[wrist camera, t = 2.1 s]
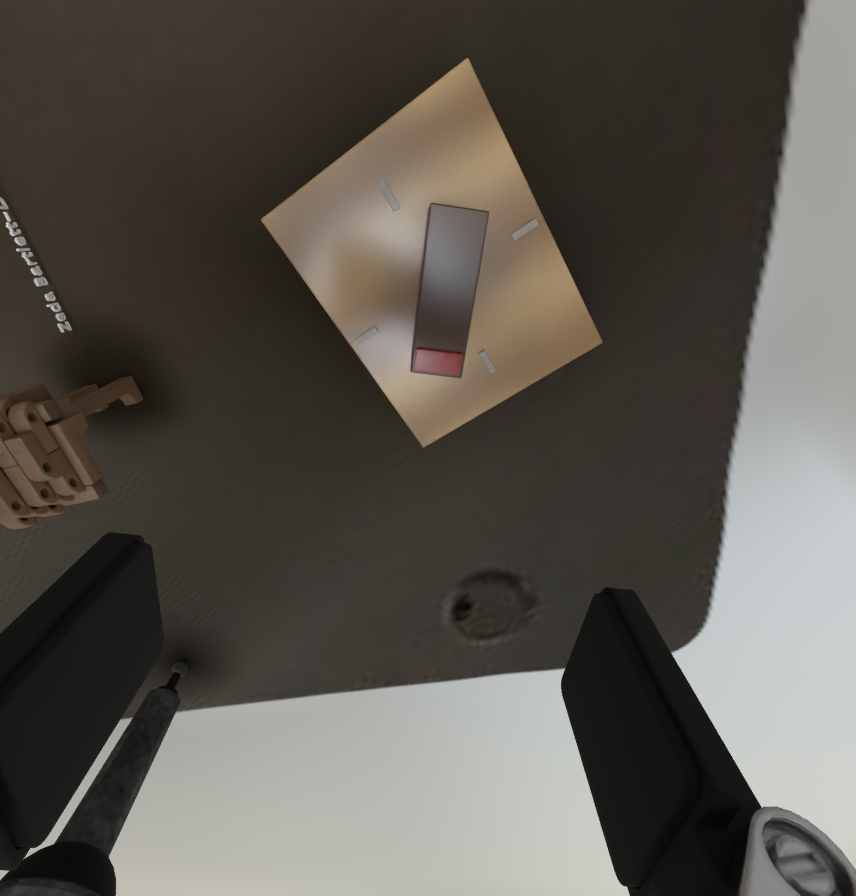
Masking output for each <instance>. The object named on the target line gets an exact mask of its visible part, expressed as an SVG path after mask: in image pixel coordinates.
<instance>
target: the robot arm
mask: <svg viewBox="0 0 856 896" xmlns="http://www.w3.org/2000/svg"><path fill="white" fill-rule="evenodd" d="M163 642H164V636H163V629H162V621H161V613H160V606H159V598H158V590H157V583H156V575H155V567H154V559H153V552H152V547H151V545H150V544H146V543H145V542H144V539H143V538H142V536H139V535H131V534H122V533H113V532H110V533H107V534H106V535H104V536H103V537H102V538H101V539H100V540H99V541H98V542H97V543H95V544H94V545H93V546H92V547H91V548H90V549H89V550H88V551H87V552H86V553H85V554H84V555H83V556H82V557H81V558H80V559H79V560H78V561H77V562H76V563H75V564H74V565H72V566H71V567H70V568H69V569H68V570H67V571H66V572H65V573H64V574H63V575H62V576H61V577H60V578H59V579H58V580H57V581H56V582H55V583H54V584H53V585H52V586H51V587H49V588H48V589H47V590H46V591H45V592H44V593H43V594H42V595H41V596H40V597H39V598H38V599H37V600H36V601H35V602H34V603H33V604H31V605H30V606H29V607H28V608H27V609H26V610H25V611H24V612H23V613H22V614H21V615H20V616H19V617H18V618H17V619H16V620H14V621H13V622H12V623H11V624H10V625H9V626H8V627H7V628H6V629H5V630H4V631H3V632H2V633H1V634H0V870H9V871H16V870H17V868H18V867H19V865H20V864H21V862H22V860H23V859H24V857H25V856H26V854H27V853H28V851H29V849H30V848H35V847H38V846H39V845H41V844H42V842H43V841H44V840H45V839H46V838H47V836H48V835H49V833H50V832H51V830H52V829H53V827H54V825H55V824H56V822H57V821H58V819H59V817H60V816H61V814H62V813H63V811H64V809H65V808H66V806H67V804H68V803H69V801H70V800H71V798H72V796H73V795H74V793H75V791H76V790H77V788H78V787H79V785H80V783H81V782H82V780H83V779H84V777H85V775H86V774H87V772H88V771H89V769H90V767H91V766H92V764H93V763H94V761H95V759H96V758H97V756H98V754H99V753H100V751H101V750H102V748H103V746H104V745H105V743H106V742H107V740H108V738H109V737H110V735H111V733H112V731H113V730H114V729H115V727H116V725H117V724H118V722H119V721H120V719H121V717H122V716H123V714H124V712H125V711H126V709H127V708H128V706H129V704H130V703H131V701H132V700H133V698H134V696H135V695H136V693H137V692H138V690H139V688H140V687H141V685H142V683H143V682H144V680H145V679H146V677H147V675H148V674H149V672H150V671H151V669H152V667H153V666H154V664H155V662H156V661H157V659H158V657H159V656H160V653H161V651H162V647H163ZM561 689H562V696H563V699H564V703H565V706H566V709H567V713H568V716H569V719H570V723H571V726H572V729H573V733H574V736H575V739H576V743H577V746H578V750H579V753H580V756H581V760H582V763H583V767H584V770H585V773H586V777H587V780H588V783H589V786H590V790H591V793H592V796H593V800H594V803H595V807H596V810H597V814H598V817H599V820H600V824H601V827H602V830H603V834H604V837H605V840H606V844H607V847H608V850H609V854H610V857H611V861H612V864H613V867H614V871H615V873H616V876H617V878H618V880H619V882H620V883H621V884H622V885H623V886H627V887H628V890H629V894H630V896H856V870H855V868H854V867H853V866H852V864H851V863H850V862H849V860H848V859H847V857H846V856H845V855H844V854H843V852H842V851H841V850H840V849H839V848H838V847H837V846H836V845H835V844H834V843H833V841H831V839H829V837H828V836H827V835H826V834H825V833H823V832H822V831H821V830H819V829H818V828H817V827H816V826H814V825H813V824H812V823H810V822H809V821H808V820H806V819H804V818H802V817H801V816H799V815H797V814H795V813H793V812H792V811H789V810H785V809H782V808H779V807H763V808H761V806H760V804H759V802H758V801H757V799H756V797H755V796H754V794H753V792H752V790H751V789H750V787H749V785H748V784H747V782H746V780H745V778H744V777H743V775H742V773H741V772H740V770H739V768H738V766H737V765H736V763H735V761H734V760H733V758H732V756H731V754H730V753H729V751H728V749H727V748H726V746H725V744H724V742H723V741H722V739H721V737H720V736H719V734H718V732H717V730H716V729H715V727H714V725H713V724H712V722H711V720H710V719H709V717H708V715H707V713H706V712H705V710H704V708H703V707H702V705H701V703H700V702H699V700H698V698H697V696H696V695H695V693H694V691H693V690H692V688H691V686H690V684H689V683H688V681H687V679H686V677H685V676H684V674H683V672H682V671H681V669H680V668H679V666H678V664H677V663H676V661H675V659H674V657H673V656H672V654H671V652H670V650H669V649H668V647H667V645H666V644H665V642H664V640H663V638H662V637H661V635H660V633H659V632H658V630H657V628H656V626H655V625H654V623H653V621H652V620H651V618H650V616H649V614H648V613H647V611H646V609H645V608H644V606H643V604H642V603H641V601H640V599H639V597H638V596H637V594H636V593H635V592H634V591H632V590H627V589H618V588H609V587H606V588H604V589H603V590H602V591H601V593H596V594H595V595H594V596H593V598H592V601H591V604H590V606H589V609H588V611H587V614H586V617H585V619H584V622H583V624H582V627H581V630H580V632H579V635H578V637H577V640H576V642H575V645H574V648H573V650H572V653H571V655H570V658H569V661H568V663H567V666H566V668H565V671H564V674H563V676H562V681H561Z"/></svg>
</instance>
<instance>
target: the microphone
mask: <svg viewBox="0 0 856 896" xmlns="http://www.w3.org/2000/svg"><path fill="white" fill-rule="evenodd" d="M187 671H188V665H187V663H186V662H184V661H179V662H177V663H175V664H174V665H173V667H172V669H171V673H172V676H171V678H170V679H169V681H168V683H167V685H166V686H161V687H159V688H158V689H153V690H151V691H150V692H149V693H148V694H147V696H146V698H145V699H144V701H143V702H142V704H141V706H140V707H139V709H138V710H137V712H136V714H135V715H134V717H133V719H132V720H131V722H130V724H129V725H128V727H127V728H126V730H125V731H124V733H123V735H122V736H121V738H120V739H119V741H118V743H117V744H116V746H115V747H114V749H113V751H112V752H111V754H110V755H109V757H108V759H107V760H106V762H105V763H104V765H103V767H102V768H101V770H100V771H99V773H98V775H97V776H96V778H95V779H94V781H93V783H92V784H91V786H90V787H89V789H88V791H87V792H86V794H85V796H84V797H83V799H82V800H81V802H80V804H79V805H78V807H77V808H76V810H75V812H74V813H73V815H72V817H71V818H70V820H69V821H68V823H67V825H66V826H65V828H64V829H63V831H62V832H61V834H60V836H59V837H58V839H57V841H56V842H55V844H53V845H50V846H48V847H45V848H43V849H40V850H38V851H37V852H35V853H34V854H32V855H30V856H28V857H27V858H25V859H24V860H22V862H21V864H20V865H19V867H18V868H17V870H16V871H9V872H8V873H7V874H6V875H5V876H4V877H3V878H2V879H1V880H0V896H116V877H115V872H114V868H113V865H112V864H111V861H110V859H109V858H108V857H109V855H110V853H111V850H112V848H113V846H114V844H115V842H116V840H117V838H118V836H119V833H120V831H121V829H122V827H123V825H124V822H125V820H126V818H127V816H128V814H129V812H130V810H131V807H132V805H133V803H134V801H135V799H136V797H137V795H138V792H139V790H140V788H141V786H142V784H143V781H144V779H145V777H146V775H147V773H148V771H149V769H150V766H151V764H152V762H153V760H154V758H155V756H156V754H157V751H158V749H159V747H160V745H161V742H162V740H163V738H164V736H165V734H166V732H167V730H168V728H169V726H170V723H171V721H172V719H173V717H174V715H175V713H176V710H177V708H178V706H179V704H180V699H179V697H178V693H177V691H176V689H175V686H176V685H177V683H178V681H179V679H180V677H183V676H184V675H185V674H186V673H187Z"/></svg>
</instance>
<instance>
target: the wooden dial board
mask: <svg viewBox="0 0 856 896" xmlns="http://www.w3.org/2000/svg"><path fill="white" fill-rule="evenodd" d="M431 203H437V204H444V205H451V206H457V207H464V208H471V209H477V210H484V211H488V212H489V217H488V223H487V229H486V235H485V241H484V247H483V253H482V259H481V265H480V271H479V277H478V283H477V289H476V295H475V301H474V307H473V313H472V319H471V325H470V331H469V337H468V343H467V349H466V355H465V361H464V367H463V373H462V377H461V378H453V377H445V376H437V375H428V374H420V373H412V372H411V371H410V370H411V352H412V341H413V332H414V324H415V315H416V307H417V298H418V290H419V281H420V272H421V264H422V255H423V247H424V238H425V230H426V221H427V212H428V208H429V206H430V204H431ZM261 221H262V222H263V224H264V225H265V227H266V228H267V229H268V231H269V232H270V234H271V235H272V236H273V238H274V239H275V241H276V242H277V243H278V245H279V246H280V248H281V249H282V250H283V252H284V253H285V255H286V256H287V257H288V259H289V260H290V262H291V263H292V264H293V266H294V267H295V269H296V270H297V271H298V273H299V274H300V276H301V277H302V278H303V280H304V281H305V283H306V284H307V285H308V287H309V288H310V290H311V291H312V293H313V294H314V295H315V297H316V298H317V300H318V301H319V302H320V304H321V305H322V307H323V308H324V309H325V311H326V312H327V314H328V315H329V316H330V318H331V319H332V321H333V322H334V323H335V325H336V326H337V328H338V329H339V330H340V332H341V333H342V335H343V336H344V337H345V339H346V340H347V342H348V343H349V344H350V346H351V347H352V349H353V350H354V351H355V353H356V354H357V356H358V357H359V358H360V360H361V361H362V363H363V364H364V365H365V367H366V368H367V370H368V371H369V372H370V374H371V375H372V377H373V378H374V379H375V381H376V382H377V384H378V385H379V386H380V388H381V389H382V391H383V392H384V393H385V395H386V396H387V398H388V399H389V400H390V402H391V403H392V405H393V406H394V407H395V409H396V410H397V412H398V413H399V414H400V416H401V417H402V419H403V420H404V421H405V423H406V424H407V426H408V427H409V428H410V430H411V431H412V433H413V434H414V435H415V437H416V438H417V440H418V441H419V442H420V444H421V445H422V447H425V446H427V445H429V444H430V443H432V442H434V441H436V440H437V439H439V438H441V437H442V436H444V435H446V434H448V433H449V432H451V431H453V430H454V429H456V428H458V427H459V426H461V425H463V424H465V423H466V422H468V421H470V420H471V419H473V418H475V417H477V416H478V415H480V414H482V413H483V412H485V411H487V410H488V409H490V408H492V407H494V406H495V405H497V404H499V403H500V402H502V401H504V400H506V399H507V398H509V397H511V396H512V395H514V394H516V393H517V392H519V391H521V390H523V389H524V388H526V387H528V386H529V385H531V384H533V383H535V382H536V381H538V380H540V379H541V378H543V377H545V376H546V375H548V374H550V373H552V372H553V371H555V370H557V369H558V368H560V367H562V366H564V365H565V364H567V363H569V362H570V361H572V360H574V359H575V358H577V357H579V356H581V355H582V354H584V353H586V352H587V351H589V350H591V349H593V348H594V347H596V346H598V345H599V344H601V343H602V340H601V338H600V335H599V333H598V331H597V329H596V327H595V325H594V323H593V321H592V319H591V316H590V314H589V312H588V310H587V308H586V306H585V304H584V302H583V300H582V297H581V295H580V293H579V291H578V289H577V287H576V285H575V283H574V281H573V278H572V276H571V274H570V272H569V270H568V268H567V266H566V264H565V262H564V259H563V257H562V255H561V253H560V251H559V249H558V247H557V245H556V243H555V240H554V238H553V236H552V234H551V232H550V230H549V228H548V226H547V224H546V221H545V219H544V217H543V215H542V213H541V211H540V209H539V207H538V205H537V202H536V200H535V198H534V196H533V194H532V192H531V190H530V188H529V186H528V183H527V181H526V179H525V177H524V175H523V173H522V171H521V169H520V167H519V164H518V162H517V160H516V158H515V156H514V154H513V152H512V150H511V148H510V145H509V143H508V141H507V139H506V137H505V135H504V133H503V131H502V128H501V126H500V124H499V122H498V120H497V118H496V116H495V114H494V112H493V109H492V107H491V105H490V103H489V101H488V99H487V97H486V95H485V93H484V90H483V88H482V86H481V84H480V82H479V80H478V78H477V76H476V74H475V71H474V69H473V67H472V65H471V63H470V61H469V59H468V58H466V59H465V60H464V61H462V62H461V63H460V64H458V65H457V66H456V67H455V68H453V69H452V70H451V71H450V72H448V73H447V74H446V75H444V76H443V77H442V78H441V79H439V80H438V81H437V82H435V83H434V84H433V85H432V86H430V87H429V88H428V89H427V90H425V91H424V92H423V93H421V94H420V95H419V96H418V97H416V98H415V99H414V100H412V101H411V102H410V103H409V104H407V105H406V106H405V107H404V108H402V109H401V110H400V111H398V112H397V113H396V114H395V115H393V116H392V117H391V118H389V119H388V120H387V121H386V122H384V123H383V124H382V125H381V126H379V127H378V128H377V129H375V130H374V131H373V132H372V133H370V134H369V135H368V136H366V137H365V138H364V139H363V140H361V141H360V142H359V143H358V144H356V145H355V146H354V147H352V148H351V149H350V150H349V151H347V152H346V153H345V154H343V155H342V156H341V157H340V158H338V159H337V160H336V161H335V162H333V163H332V164H331V165H329V166H328V167H327V168H326V169H324V170H323V171H322V172H320V173H319V174H318V175H317V176H315V177H314V178H313V179H312V180H310V181H309V182H308V183H306V184H305V185H304V186H303V187H301V188H300V189H299V190H297V191H296V192H295V193H294V194H292V195H291V196H290V197H289V198H287V199H286V200H285V201H283V202H282V203H281V204H280V205H278V206H277V207H276V208H274V209H273V210H272V211H271V212H269V213H268V214H267V215H266V216H264V217H263V218H262V219H261Z"/></svg>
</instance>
